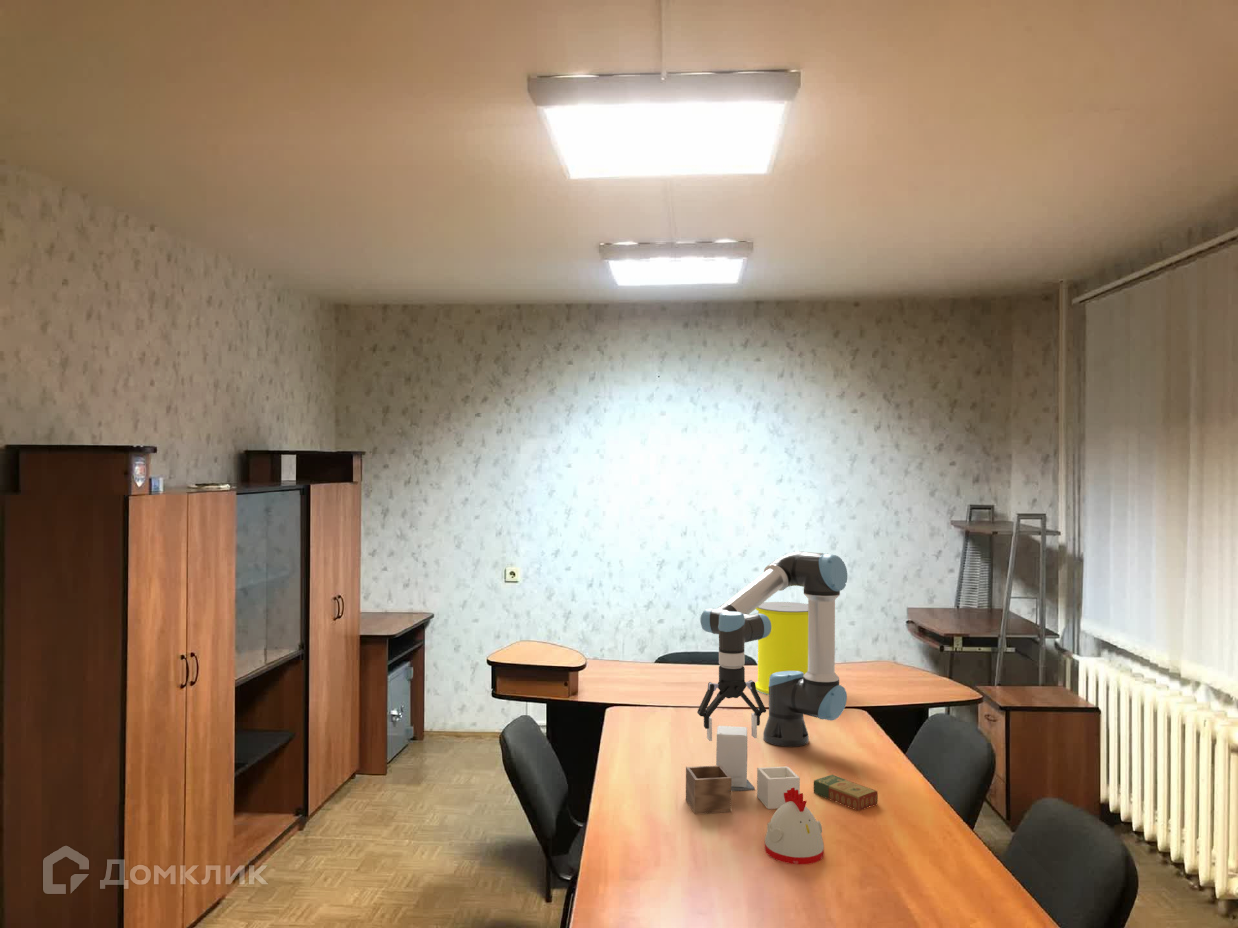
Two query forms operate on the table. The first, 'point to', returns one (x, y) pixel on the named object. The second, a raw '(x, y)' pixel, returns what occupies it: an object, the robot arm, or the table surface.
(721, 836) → the table surface
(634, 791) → the table surface
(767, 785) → the ceramic pot
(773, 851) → the kitchen timer
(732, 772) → the supplement box
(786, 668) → the container
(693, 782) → the walnut pot
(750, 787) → the coaster
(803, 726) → the robot arm
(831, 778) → the carton
